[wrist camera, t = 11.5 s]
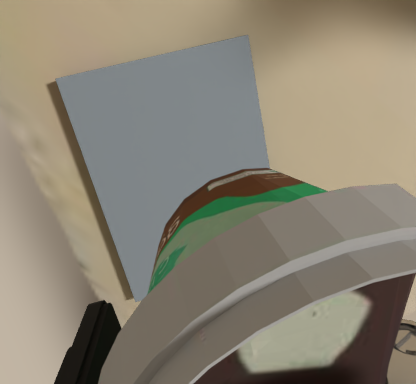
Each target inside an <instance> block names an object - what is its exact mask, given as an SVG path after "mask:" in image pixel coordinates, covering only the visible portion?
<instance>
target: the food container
mask: <svg viewBox="0 0 416 384" xmlns="http://www.w3.org/2000/svg"><path fill="white" fill-rule="evenodd" d="M415 275H416V198H415V197H414V196H413V195H411V194H410V193H408V192H407V191H406V190H404V189H403V188H401V187H400V186H399V185H397V184H383V185H368V186H353V187H348V188H343V189H338V190H334V191H329V192H328V191H326V190H323V189H321V188H318V187H316V186H313V185H310V184H308V183H305V182H303V181H300V180H298V179H295V178H292V177H290V176H287V175H285V174H282V173H280V172H277V171H275V170H272V169H269V168H253V169H241V170H239V171H236V172H233V173H230V174H227V175H224V176H221V177H218V178H215V179H212V180H210V181H209V182H207V183H206V184H204V185H203V186H202V187H200V188H199V189H197V190H196V191H195V192H193V193H192V194H191V195H189V196H188V197H186V198H185V199H184V200H183V201H182V203H181V204H180V205H179V207H178V208H177V209H176V211H175V212H174V213H173V215H172V216H171V218H170V219H169V220H168V222H167V223H166V225H165V228H164V231H163V234H162V237H161V240H160V243H159V246H158V250H157V255H156V259H155V263H154V268H153V272H152V276H151V281H150V285H149V289H148V294H147V296H146V297H145V298H144V299H143V300H142V301H141V303H140V304H139V305H138V307H137V308H136V310H135V311H134V312H133V314H132V315H131V317H130V318H129V319H128V321H127V322H126V324H125V325H124V326H123V328H122V329H121V331H120V332H119V333H118V335H117V337H116V340H115V342H114V344H113V346H112V348H111V350H110V352H109V354H108V356H107V359H106V361H105V363H104V365H103V367H102V370H101V374H100V378H99V382H98V384H386V378H387V372H388V367H389V362H390V359H391V356H392V352H393V349H394V345H395V342H396V338H397V335H398V331H399V328H400V324H401V321H402V317H403V314H404V310H405V307H406V303H407V300H408V297H409V294H410V290H411V287H412V284H413V281H414V278H415Z"/></svg>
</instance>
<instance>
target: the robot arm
mask: <svg viewBox="0 0 416 384" xmlns="http://www.w3.org/2000/svg"><path fill="white" fill-rule="evenodd" d="M120 331H121V326H120V324H119V321H118V319H117V316H116V314H115V311H114V308H113V306H112V304H111V303H106V301H104V300H103V301H99V302H95V303H92V304H89V305H88V306H87V309H86V311H85V314H84V316H83V319H82V321H81V324H80V327H79V329H78V332H77V334H76V337H75V339H74V342H73V345H72V347H70V348H69V349H68V351H67V352H66V355H65V357H64V360H63V363H62V365H61V368H60V370H59V372H58V375H57V377H56V380H55V382H54V384H98V382H99V378H100V374H101V370H102V367H103V365H104V363H105V361H106V359H107V356H108V354H109V352H110V350H111V348H112V346H113V344H114V342H115V340H116V337H117V335H118V333H119V332H120ZM386 384H416V322H414V321H411V320H405V319H402V321H401V324H400V328H399V331H398V335H397V338H396V342H395V345H394V349H393V352H392V356H391V359H390V362H389V367H388V372H387V378H386Z"/></svg>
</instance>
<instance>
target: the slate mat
mask: <svg viewBox="0 0 416 384" xmlns="http://www.w3.org/2000/svg"><path fill="white" fill-rule="evenodd" d="M56 82H57V85H58V88H59V90H60V93H61V96H62V99H63V102H64V104H65V107H66V110H67V113H68V116H69V118H70V121H71V124H72V127H73V129H74V132H75V135H76V138H77V141H78V143H79V146H80V149H81V152H82V154H83V157H84V160H85V163H86V166H87V168H88V171H89V174H90V177H91V180H92V182H93V185H94V188H95V191H96V193H97V196H98V199H99V202H100V205H101V207H102V210H103V213H104V216H105V218H106V221H107V224H108V227H109V230H110V232H111V235H112V238H113V241H114V244H115V246H116V249H117V252H118V255H119V257H120V260H121V263H122V266H123V269H124V271H125V274H126V277H127V280H128V282H129V285H130V288H131V291H132V294H133V296H134V299H135V302H137V301H141V300H143V299H144V298H145V297H146V296H147V294H148V289H149V285H150V281H151V276H152V272H153V268H154V263H155V259H156V255H157V250H158V246H159V243H160V240H161V237H162V234H163V231H164V228H165V225H166V223H167V222H168V220H169V219H170V218H171V216H172V215H173V213H174V212H175V211H176V209H177V208H178V207H179V205H180V204H181V203H182V201H183V200H184V199H185V198H186V197H188V196H189V195H191V194H192V193H193V192H195V191H196V190H197V189H199V188H200V187H202V186H203V185H204V184H206V183H207V182H209V181H210V180H212V179H215V178H218V177H221V176H224V175H227V174H230V173H233V172H236V171H239V170H241V169H253V168H269V169H270V167H269V161H268V155H267V149H266V142H265V136H264V130H263V124H262V118H261V112H260V105H259V99H258V93H257V87H256V81H255V74H254V68H253V62H252V56H251V50H250V44H249V37H248V35H245V36H241V37H236V38H232V39H227V40H223V41H219V42H214V43H210V44H205V45H201V46H197V47H192V48H188V49H184V50H179V51H175V52H170V53H166V54H162V55H157V56H153V57H148V58H144V59H140V60H135V61H131V62H127V63H122V64H118V65H113V66H109V67H105V68H100V69H96V70H91V71H87V72H83V73H78V74H74V75H70V76H65V77H61V78H56Z"/></svg>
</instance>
